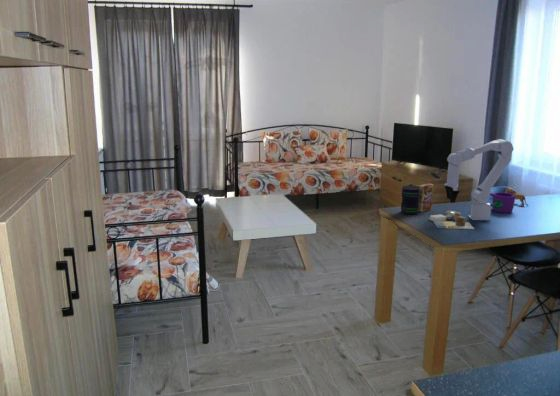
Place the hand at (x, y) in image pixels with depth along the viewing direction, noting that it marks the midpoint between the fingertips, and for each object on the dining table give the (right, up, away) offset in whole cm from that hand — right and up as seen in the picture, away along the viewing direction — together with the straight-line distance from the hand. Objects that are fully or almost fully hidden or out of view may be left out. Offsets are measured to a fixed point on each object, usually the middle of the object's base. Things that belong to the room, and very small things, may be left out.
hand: (450, 200), depth 253 cm
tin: (+1, -10, +3) cm, 10 cm away
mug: (+33, -6, +17) cm, 38 cm away
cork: (+2, -11, -3) cm, 11 cm away
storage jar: (-19, -7, +12) cm, 24 cm away
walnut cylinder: (+1, -12, -10) cm, 16 cm away
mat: (-2, -13, -10) cm, 16 cm away
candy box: (-9, -6, +18) cm, 21 cm away
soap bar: (-7, -11, 0) cm, 13 cm away
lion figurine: (+50, -2, +31) cm, 58 cm away
